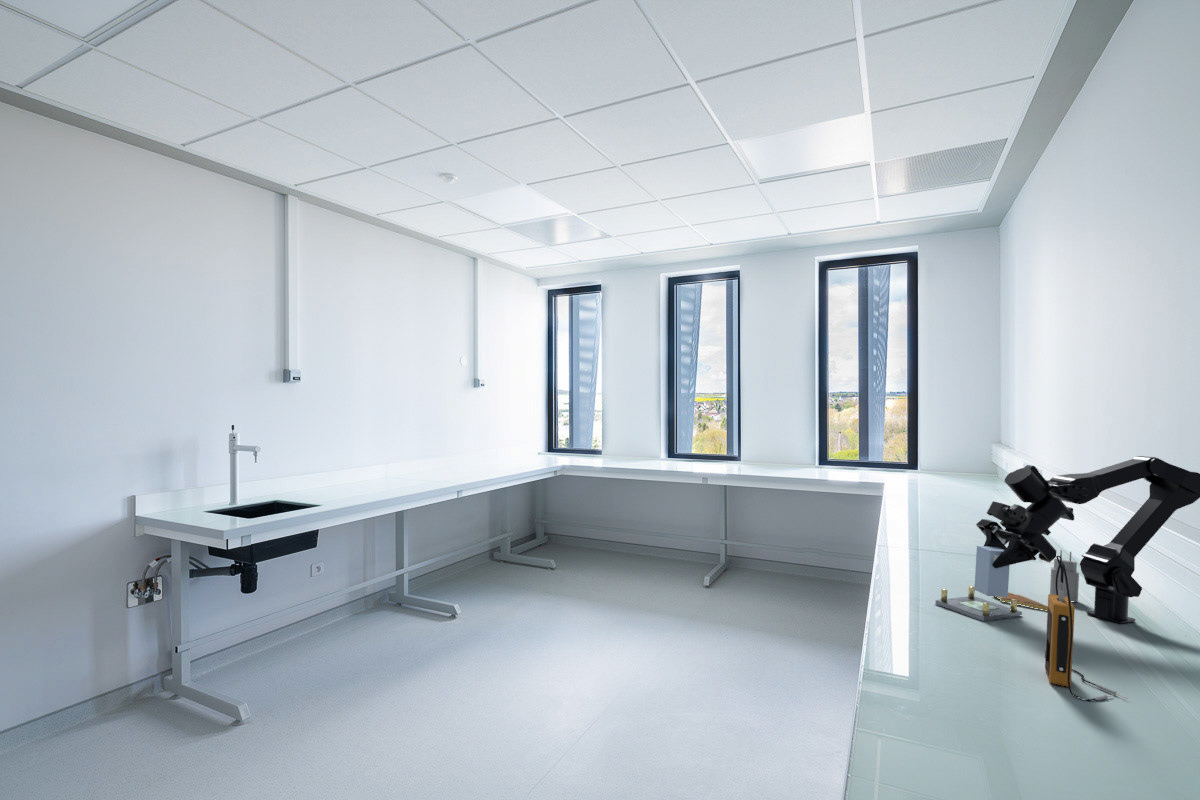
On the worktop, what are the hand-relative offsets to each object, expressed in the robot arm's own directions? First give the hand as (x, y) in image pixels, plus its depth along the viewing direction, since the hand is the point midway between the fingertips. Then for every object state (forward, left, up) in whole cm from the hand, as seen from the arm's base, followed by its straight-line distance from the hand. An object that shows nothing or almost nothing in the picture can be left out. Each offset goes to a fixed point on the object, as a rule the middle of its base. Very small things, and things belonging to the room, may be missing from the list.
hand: (986, 563), depth 132 cm
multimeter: (+22, +30, -11) cm, 39 cm away
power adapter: (-31, -1, -11) cm, 33 cm away
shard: (-16, -2, -11) cm, 20 cm away
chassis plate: (+1, -1, -10) cm, 11 cm away
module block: (-1, +1, -7) cm, 7 cm away
